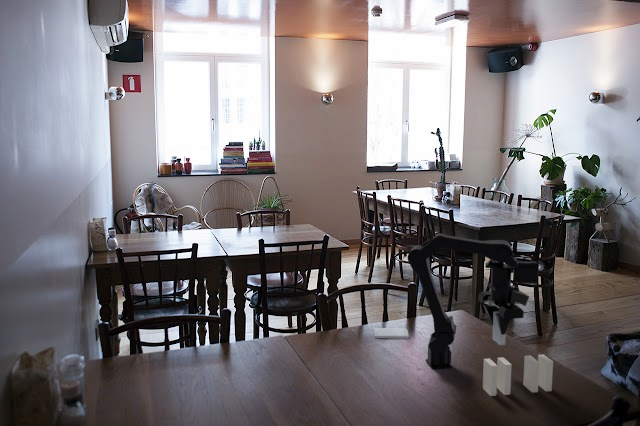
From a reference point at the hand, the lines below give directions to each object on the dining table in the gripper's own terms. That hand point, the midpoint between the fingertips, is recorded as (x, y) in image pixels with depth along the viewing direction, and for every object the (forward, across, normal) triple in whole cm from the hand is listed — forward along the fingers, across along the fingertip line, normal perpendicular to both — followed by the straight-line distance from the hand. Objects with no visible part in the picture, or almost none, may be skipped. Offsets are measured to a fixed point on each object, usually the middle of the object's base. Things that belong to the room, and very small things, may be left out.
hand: (499, 331), depth 171 cm
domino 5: (+13, -12, -8) cm, 20 cm away
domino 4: (+13, -12, -4) cm, 18 cm away
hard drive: (+14, +36, +25) cm, 45 cm away
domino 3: (+13, -12, +4) cm, 18 cm away
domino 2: (+4, 0, 0) cm, 4 cm away
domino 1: (+13, -12, +8) cm, 20 cm away
